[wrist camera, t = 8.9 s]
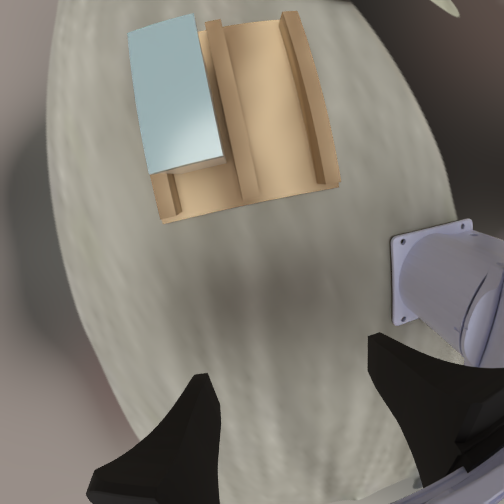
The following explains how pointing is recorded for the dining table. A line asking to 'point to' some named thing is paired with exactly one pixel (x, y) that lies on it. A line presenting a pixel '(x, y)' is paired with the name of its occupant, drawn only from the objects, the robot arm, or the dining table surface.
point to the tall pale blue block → (174, 98)
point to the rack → (257, 122)
